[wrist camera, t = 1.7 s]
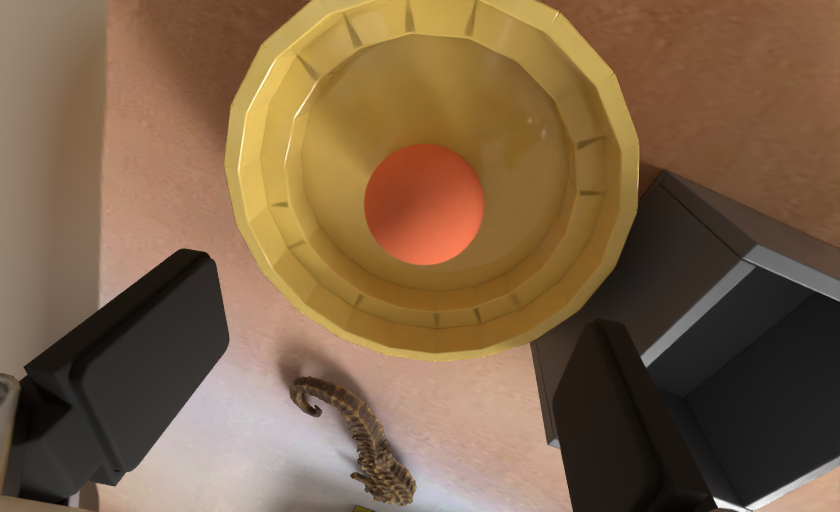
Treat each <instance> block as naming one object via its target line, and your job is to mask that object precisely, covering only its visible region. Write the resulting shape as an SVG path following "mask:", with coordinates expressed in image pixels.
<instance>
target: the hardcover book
mask: <svg viewBox="0 0 840 512" xmlns="http://www.w3.org/2000/svg"><path fill="white" fill-rule="evenodd" d="M352 512H374V511H371V510H368V509H365V508H362V507H359V506H356V507H355V509H354V510H353V511H352Z"/></svg>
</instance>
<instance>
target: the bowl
mask: <svg viewBox="0 0 840 512" xmlns="http://www.w3.org/2000/svg"><path fill="white" fill-rule="evenodd" d="M415 144H434V145H438V146H442V147H445V148H448V149H450V150H452V151H454V152H455V153H457V154H458V155H460V156H461V157H462V158H463V159H465V160H466V161H467V162H468V163H469V165H470V166H471V167H472V168H473V170H474V171H475V173H476V175H477V176H478V178H479V181H480V183H481V186H482V190H483V195H484V214H483V219H482V223H481V226H480V228H479V230H478V232H477V234H476V236H475V238H474V239H473V241H472V242H471V243H470V244H469V245H468V246H467V247H466V248H465V249H464V250H463V251H462V252H461V253H459V254H458V255H457V256H455V257H453V258H451V259H449V260H447V261H444V262H442V263H438V264H433V265H416V264H411V263H407V262H404V261H401V260H399V259H397V258H395V257H393V256H392V255H390V254H389V253H387V252H386V251H385V250H384V249H383V248H382V247H381V246H380V245H379V244H378V243H377V241H376V240H375V239H374V237H373V235H372V234H371V232H370V230H369V228H368V225H367V222H366V218H365V212H364V198H365V191H366V187H367V184H368V182H369V180H370V177H371V175H372V174H373V172H374V170H375V169H376V168H377V166H378V165H379V164H380V163H381V162H382V161H383V160H384V159H385V158H386V157H387V156H389V155H390V154H392V153H393V152H395V151H397V150H399V149H401V148H404V147H407V146H410V145H415ZM639 146H640V144H639V139H638V136H637V133H636V130H635V128H634V125H633V122H632V119H631V117H630V114H629V111H628V108H627V105H626V103H625V100H624V97H623V94H622V92H621V89H620V86H619V83H618V80H617V78H616V75H615V73H613V70H612V69H611V68H610V67H609V66H608V64H607V63H606V62H605V61H604V60H603V59H602V58H601V57H600V55H599V54H598V53H597V52H596V51H595V50H594V49H593V48H592V47H591V45H590V44H589V43H588V42H587V41H586V40H585V39H584V38H583V36H582V35H581V34H580V33H579V32H578V31H577V30H576V29H575V27H574V26H573V25H572V24H571V23H570V22H569V21H568V20H567V19H566V17H565V16H564V15H563V14H562V13H560V12H559V11H558V10H557V9H554V8H552V7H550V6H548V5H546V4H544V3H542V2H540V1H538V0H310V1H309V2H308V3H307V4H306V5H305V6H304V7H302V8H301V9H300V10H299V11H298V12H297V13H296V14H294V15H293V16H292V17H291V18H290V19H289V20H288V21H286V22H285V23H284V24H283V25H282V26H281V27H280V28H278V29H277V30H276V31H275V32H274V33H273V34H272V35H270V36H269V37H268V38H267V39H266V40H265V41H264V42H263V44H261V46H260V48H259V49H258V51H257V53H256V55H255V57H254V59H253V61H252V63H251V65H250V67H249V69H248V71H247V73H246V75H245V77H244V79H243V81H242V83H241V85H240V87H239V89H238V91H237V93H236V95H235V97H234V99H233V101H232V103H231V106H230V114H229V123H228V131H227V140H226V149H225V157H224V166H225V167H224V170H225V175H226V180H227V184H228V189H229V194H230V199H231V204H232V208H233V213H234V218H235V222H236V225H237V227H238V229H239V231H240V233H241V234H242V236H243V238H244V240H245V242H246V244H247V246H248V247H249V249H250V251H251V253H252V255H253V257H254V259H255V261H256V262H257V264H258V266H259V268H260V270H261V271H262V273H263V274H264V275H265V276H266V277H267V278H268V279H269V280H270V281H271V282H272V284H273V285H274V286H275V287H276V288H277V289H278V290H279V291H280V292H281V293H282V294H283V295H284V296H285V297H286V299H287V300H288V301H289V302H290V303H291V304H292V305H293V306H294V307H295V308H296V309H298V311H300V312H301V313H303V314H304V315H306V316H307V317H309V318H310V319H312V320H313V321H315V322H316V323H318V324H319V325H321V326H322V327H324V328H325V329H327V330H328V331H330V332H332V333H333V334H335V335H336V336H338V337H340V338H341V339H344V340H347V341H349V342H352V343H355V344H357V345H360V346H363V347H365V348H368V349H371V350H373V351H376V352H379V353H381V354H384V355H387V356H394V357H402V358H409V359H416V360H424V361H431V362H435V361H436V362H441V361H452V360H463V359H475V358H484V357H488V356H491V355H494V354H497V353H500V352H503V351H506V350H509V349H512V348H515V347H518V346H521V345H524V344H526V343H529V342H532V341H534V340H536V339H538V338H539V337H541V336H542V335H544V334H545V333H547V332H548V331H550V330H551V329H553V328H554V327H556V326H557V325H559V324H560V323H562V322H563V321H565V320H566V319H568V318H569V317H571V316H572V315H574V314H575V313H577V312H578V310H580V309H581V308H582V307H583V306H584V304H585V303H586V302H587V301H588V300H589V298H590V297H591V296H592V295H593V294H594V292H595V291H596V290H597V289H598V288H599V286H600V285H601V284H602V283H603V282H604V280H605V279H606V278H607V277H608V276H609V274H610V273H611V272H612V271H613V270H614V268H615V266H616V264H617V262H618V259H619V257H620V254H621V252H622V249H623V247H624V244H625V242H626V239H627V237H628V234H629V231H630V229H631V226H632V224H633V221H634V219H635V216H636V214H637V209H638V185H639Z"/></svg>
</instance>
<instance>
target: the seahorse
mask: <svg viewBox="0 0 840 512" xmlns="http://www.w3.org/2000/svg"><path fill="white" fill-rule="evenodd" d="M302 393H307V394H309V395H312V396H315V397H318V398H319V399H321V400H323V401H325V402H326V403H330V404H331V405H332V406H334V407H336V408H337V410H339V411H341V415H343V416H344V417H345V419H346V420H347V421H348V425H349V426H350V428H349V429H350V430H352V429H354V430H353V437H352V439H353V438H356V439H355V440H356V442H358V447H357V448H358V450H357V452H358V451H360V454H359V459H358V464H360V465H361V470H363V469H364V470H366V474H367V473H368V474H369V475H370V476H371V478H368V477H366V476H363V475H361V474H359V473H357V472H355V473H352V474H351V475H350V476H351V478H353V479H356V480H358V481H360V482H362V483H364V484H365V487H366V489H365V488H364V490H365V491H366V492H370V493H371V494H372V495H373V497H374V501H382V502H383V503H385V502H386V503H389V504H392V503H396V504H397V505H398V506H405V505H407V504H411V503H412V502H413V500H412V498H413V494H414V492H415V491H416V488H417V487H416V483H415V481H414V479H413V477H412V476H411V474H410V473H409V471H408V470H407V469H406V468H405V467H404V466H403V465H402V464H400V463H399V462H398V461H396V460H395V458H394V457H393V455H392V453H391V450H390V448H389V445H387V443H385V441H387V440H386V439H385V436H384V432H383V427H384V426H381V425H382V424H380V422H379V421H378V420H377V418H376V417H375V416H374V414H373V412H372V411H371V410H370V408H369V407H368V406H367V405H366V404H365V403H364V401H362V400H361V399H360V398H359V397H358V396H357V395H354V394H352V393H351V392H350V391H349V390H346V389H344V388H343V387H342V386H340V385H335V384H333V383H332V382H327V381H325V380H324V379H317V378H312V377H310V376H309V377H302V378H299V379H296V380H295V383H294V385H292V386H291V387H290V398H291V399H292V400H293V402H294V403H295V404H296V405H297V406H298V407H299V408H300V409H301V410H302V411H303V412H305V413H307V414H309V415H311V416H313V417H320V416H321V414H322V410H321V409H320V408H319V407H318V406H316V405H314V406H315V408H316V409H314V408H313V407H312V406H310V405H309V404H308V403H307V402H306V400H305V399H304V398H303V395H302Z"/></svg>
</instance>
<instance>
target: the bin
mask: <svg viewBox="0 0 840 512" xmlns="http://www.w3.org/2000/svg"><path fill="white" fill-rule="evenodd" d="M596 318H601V319H607V320H613V321H619V322H622V323H623V324H624V325H625V327H626V329H627V331H628V333H629V335H630V337H631V339H632V341H633V343H634V345H635V347H636V349H637V351H638V353H639V355H640V357H641V359H642V361H643V363H644V365H645V367H646V369H647V371H648V373H649V375H650V377H651V379H652V381H653V383H654V385H655V386H656V387H657V389H658V390H659V392H660V393H661V395H662V397H663V399H664V401H665V403H666V405H667V407H668V409H669V411H670V413H671V415H672V417H673V419H674V421H675V423H676V425H677V427H678V429H679V431H680V433H681V435H682V437H683V439H684V441H685V443H686V445H687V447H688V449H689V451H690V453H691V455H692V457H693V459H694V461H695V463H696V465H697V467H698V469H699V471H700V473H701V475H702V477H703V479H704V480H705V482H706V484H707V486H708V488H709V490H710V492H711V494H712V496H713V498H714V500H715V502H716V504H717V506H718V507H719V508H728V509H733V510H736V511H739V512H753V511H755V510H757V509H759V508H761V507H763V506H765V505H766V504H768V503H770V502H772V501H774V500H776V499H778V498H780V497H782V496H784V495H786V494H787V493H789V492H791V491H793V490H795V489H797V488H799V487H801V486H803V485H805V484H807V483H808V482H810V481H812V480H814V479H816V478H818V477H820V476H822V475H824V474H826V473H828V472H829V471H831V470H833V469H835V468H837V467H839V466H840V249H839V248H836V247H834V246H832V245H830V244H828V243H825V242H823V241H821V240H819V239H817V238H815V237H812V236H810V235H808V234H806V233H804V232H802V231H799V230H797V229H795V228H793V227H791V226H788V225H786V224H784V223H782V222H780V221H778V220H775V219H773V218H771V217H769V216H767V215H764V214H762V213H760V212H758V211H756V210H754V209H751V208H749V207H747V206H745V205H743V204H741V203H738V202H736V201H734V200H732V199H730V198H727V197H725V196H723V195H721V194H719V193H717V192H714V191H712V190H710V189H708V188H706V187H703V186H701V185H699V184H697V183H695V182H693V181H690V180H688V179H686V178H684V177H682V176H680V175H677V174H675V173H673V172H671V171H669V170H666V169H664V170H663V171H662V172H661V174H660V175H659V176H658V178H657V179H656V180H655V181H654V183H653V184H652V185H651V186H650V188H649V189H648V190H647V192H646V193H645V194H644V195H643V197H642V198H641V199H640V200H639V202H638V209H637V214H636V216H635V219H634V221H633V224H632V226H631V229H630V231H629V234H628V237H627V239H626V242H625V244H624V247H623V249H622V252H621V254H620V257H619V259H618V262H617V264H616V266H615V268H614V270H613V271H612V272H611V273H610V274H609V276H608V277H607V278H606V279H605V280H604V282H603V283H602V284H601V285H600V286H599V288H598V289H597V290H596V291H595V292H594V294H593V295H592V296H591V297H590V298H589V300H588V301H587V302H586V303H585V304H584V306H583V307H582V308H581V309H580V310H578V312H577V313H575V314H574V315H572V316H571V317H569V318H568V319H566V320H565V321H563V322H562V323H560V324H559V325H557V326H556V327H554V328H553V329H551V330H550V331H548V332H547V333H545V334H544V335H542V336H541V337H539V338H538V339H536V340H534V341H532V342H530V345H531V351H532V356H533V362H534V368H535V374H536V380H537V386H538V392H539V398H540V404H541V410H542V416H543V422H544V428H545V433H546V439H547V444H548V445H550V446H553V447H555V448H558V449H560V445H559V440H558V435H557V430H556V425H555V420H554V415H553V410H552V400H553V396H554V393H555V391H556V388H557V386H558V384H559V382H560V379H561V377H562V375H563V373H564V370H565V368H566V366H567V364H568V361H569V359H570V357H571V355H572V352H573V350H574V348H575V346H576V343H577V341H578V339H579V337H580V334H581V332H582V330H583V328H584V326H585V324H586V323H592V322H593V321H594V320H595V319H596Z"/></svg>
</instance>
